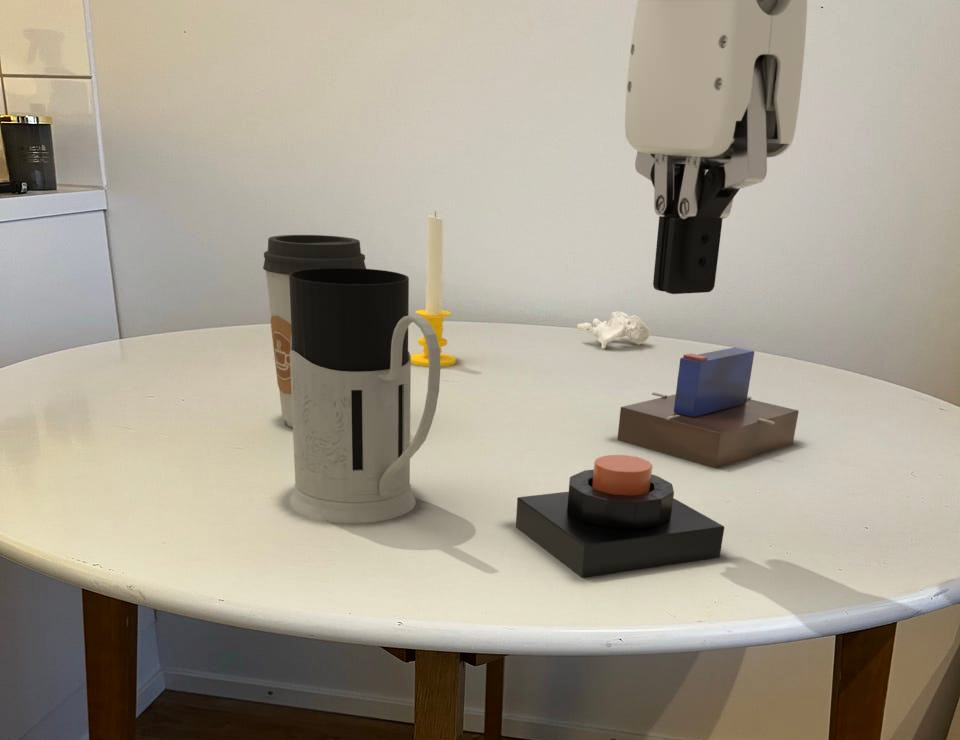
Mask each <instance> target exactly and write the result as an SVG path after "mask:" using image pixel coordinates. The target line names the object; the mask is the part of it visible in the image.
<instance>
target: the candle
mask: <svg viewBox="0 0 960 740" xmlns="http://www.w3.org/2000/svg"><path fill="white" fill-rule="evenodd" d="M427 220H428V221H427V238H426V240H427V241H426V277H425V278H426V281H425V283H426V284H425V309H419V310H416V311H415V315H418V316H421V317H423V318H425V319H426V320H427V321H428V322H429V323H430V324H431V326H432V328H433V330H434V331H435V333H436V336H437V340H438V344H439V348H440V366H441V368H442V367H449V366H453V365H455V364H456V363H457V358H456V357H455V356H454V355H451V354H446V353H442V352H443V349H442V347H445V346H447V345H448V339H446V338H444V337H443V333H444V326H443V323H444V318H445V317H448V316H451V315H452V312H451V311H449V310H443V309H442V301H443V300H442V298H443V297H442V296H443V295H442V294H443V240H444V239H443V237H444V236H443V218H442V217H438V216H437V211H436V210H435V211H434V215H432V214H431V215H430V214H429V215H428V216H427ZM417 343H418V345H420V346H422V347H423V350H422V351H423V352H420V353H414V354H410V356H411V365H415V366H421V367H429V358H428V347H427V343H426V339H425V336H424V335H423V336H422V337H420V338H418V340H417Z"/></svg>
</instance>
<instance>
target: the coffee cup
mask: <svg viewBox="0 0 960 740" xmlns="http://www.w3.org/2000/svg"><path fill="white" fill-rule="evenodd" d="M267 241H268V242H267V250H265V251H264V252H263V258H264V261H263V267H262V269H263V270H264V271H265V277H266V285H267V294H268V303H269V313H270V321H269V322H270V329H271V338H272V347H273V356H274V365H275V372H276V374H275V375H276V381H277V387H278V391H279V399H280V400H279V401H280V409H281V417H282V419H283V420H284V421H285V424H286V425H287V426H288V427H290V428H292V429H293V418H292V395H291V372H290V337H291V333H292V331H291V307H290V284H289V274H290V273H292V272H295V271H299V270H305V269H316V268H362V269H367V267H366V263H365V262H366V261H365V260H366V255H365V254H364V253H362V250H361V249H362V248H361V241H360V240H359V239H357V238H353V237H347V236H337V235H325V234H324V235H323V234H284V235H274V236H270V237H268V238H267Z"/></svg>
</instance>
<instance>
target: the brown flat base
mask: <svg viewBox="0 0 960 740" xmlns="http://www.w3.org/2000/svg"><path fill="white" fill-rule="evenodd" d="M651 395H652V396H656V397H657V398H654V399H648V400H645V401H641V402H637V403H632V404H627V405H623V406H620V409H619V410H620V411H619V419H618V430H617V441H618V442H622V443H625V444H629V445H631V446H632V445H633V446H635V447H639V448H643V449H646V450H649V451H653V452H657V453H660V454H663V455H667V456H671V457H672V458H673V457H674V458H677V459H681V460H684V461H688V462H691V463H695V464H697V465H701V466H705V467H708V468H712V469H719V468H721V467H724V466H725V467H726V466H728V465H730V464H733V463H738V462H740V461H742V460H747V459H748V458H752V457H756V456H758V455H761V454H765V453H767V452H770V451H774V450H777V449H780V448H783V447H786V446H789V445H792V444H794V440H795V433H796V429H797V424H798V418H799V410H798V409H794V408H789V407H785V406H781V405H777V404H772V403H769V402H763V401H760V400H755V399H752V396H747V402H746V404H742V405H738V406H735V407H731V408H727V409H723V410H719V411H715V412H711V413H708V414H704V415H700V416H696V417H689V416H686V415H682V414H678V413H674V404H675V396H676V393H675V394H671V395H667V394H663V393H660V392H659V393H658V392H655V391H654V392H652V393H651Z"/></svg>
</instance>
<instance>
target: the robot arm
mask: <svg viewBox="0 0 960 740" xmlns="http://www.w3.org/2000/svg"><path fill="white" fill-rule="evenodd" d="M634 14H635V15H634V20H633V28H632V36H631V45H630V51H629V52H630V53H629V58H628V60H629V61H628V69H627V78H626V79H627V81H626V90H625V92H626V93H625V107H624V109H625V110H624V111H625V112H624V131H625V138H626V140H627V142H628V144H629V145H630V146H631V147H632V148H633V149H634V150H636V151H637V152H636V158H635V161H634V166H635V167H634V168H635V171H636V172H637V173H638V174H640V175H641V176H643V177H644V178H646V179H648V180H649V181H650V182H651V184H652V186H653V190H654V195H653V196H654V197H653V198H654V199H653V205H654V206H653V207H654V212H655V214H656V215H657V216H659V217H658V227H657V238H656V247H655V257H654V258H655V260H654V270H653V281H652V287H653V288H654V290H656V291H658V292H665V293H667V294H670V295H685V294H701V293H702V294H703V293H710V292H712V291H713V290H714V288H715V285H716V276H717V269H718V262H719V261H718V260H719V252H720V251H719V250H720V245H721V244H720V243H721V235H722V226H723V219H726V218H728V217H729V216H730V213H731V211H732V206H733V201H734V198H735V196H736V195H737V194H738V192H739V191H740V190H741V189H745V188H747V187H751V186H754V185H757V184H760V183H762V182H764V180H765V179H766V176H767V172H768V162H767V161H768V158H776V157H779V156H781V155H783V154H784V153H785V152H787V151H788V149H790V147H791V145H792V143H793V140H794V137H795V133H796V129H797V128H796V127H797V122H798V115H799V106H800V99H801V90H802V81H803V72H804V71H803V70H804V60H805V58H804V57H805V49H806V46H805V45H806V34H807V17H808V0H637V1H636V8H635V13H634Z"/></svg>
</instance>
